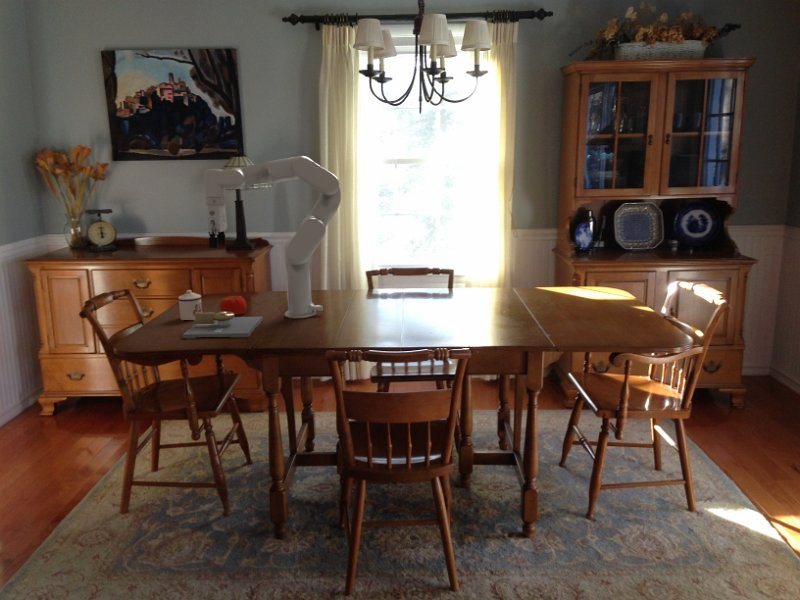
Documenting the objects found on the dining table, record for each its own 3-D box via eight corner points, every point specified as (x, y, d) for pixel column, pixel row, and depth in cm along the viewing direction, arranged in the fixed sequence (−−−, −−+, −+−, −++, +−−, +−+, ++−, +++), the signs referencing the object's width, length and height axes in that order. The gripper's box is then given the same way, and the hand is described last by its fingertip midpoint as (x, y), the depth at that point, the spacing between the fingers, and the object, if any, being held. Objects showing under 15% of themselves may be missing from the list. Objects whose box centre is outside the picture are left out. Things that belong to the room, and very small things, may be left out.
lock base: (262, 320, 269) (261, 310, 268) (248, 337, 245) (247, 326, 244) (202, 321, 269) (201, 311, 268) (183, 338, 246) (182, 327, 245)
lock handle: (237, 319, 261) (236, 309, 260) (231, 325, 253) (231, 314, 252) (199, 320, 261) (198, 310, 260) (193, 326, 253) (192, 315, 252)
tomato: (227, 311, 285) (225, 294, 283) (251, 312, 283) (250, 294, 281) (216, 317, 275) (214, 299, 273) (241, 318, 273) (239, 300, 271)
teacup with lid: (197, 321, 270) (194, 292, 267) (176, 321, 271) (173, 292, 268) (209, 313, 281) (207, 286, 279) (189, 313, 283) (186, 286, 280)
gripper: (218, 203, 251) (220, 249, 255) (231, 200, 268) (233, 243, 272) (198, 203, 251) (200, 248, 255) (213, 199, 268) (215, 242, 272)
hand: (217, 245), depth 263 cm, fingers open, 9 cm apart
